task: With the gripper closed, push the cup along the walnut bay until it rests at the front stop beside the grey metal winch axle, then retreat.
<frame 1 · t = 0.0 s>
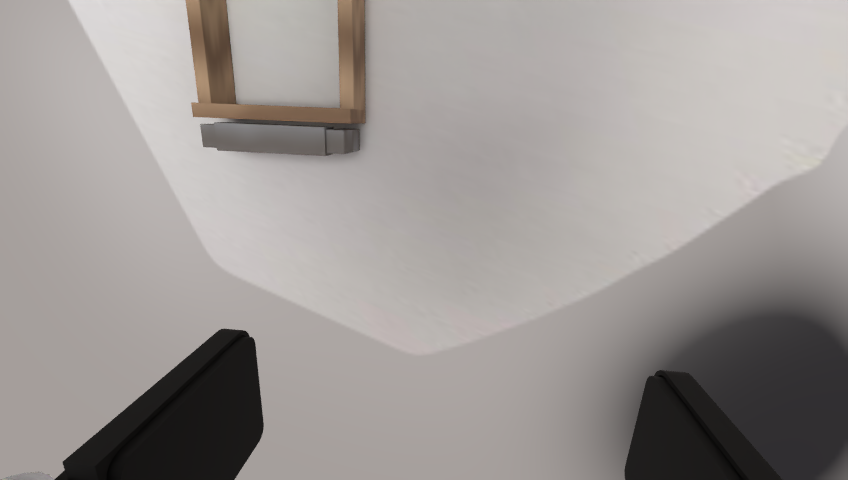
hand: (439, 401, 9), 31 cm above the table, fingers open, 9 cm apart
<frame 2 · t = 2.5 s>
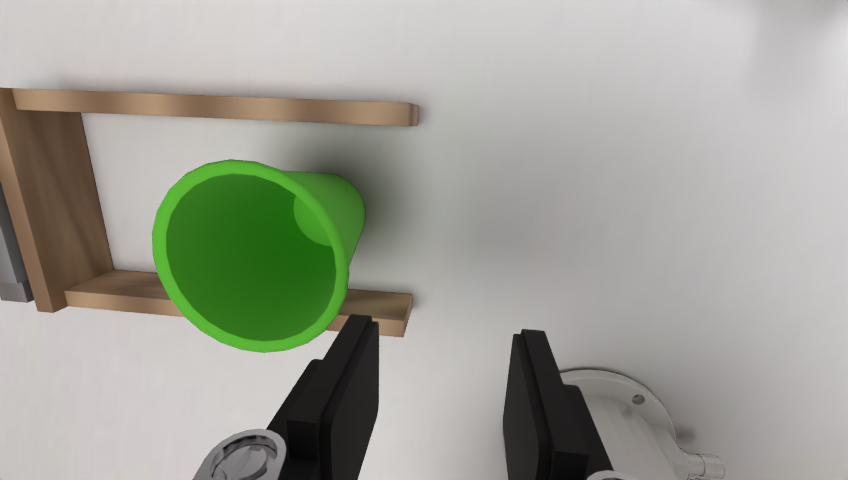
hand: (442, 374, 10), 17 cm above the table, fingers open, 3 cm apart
bay: (250, 204, 28), on the table
cup: (331, 209, 28), on the table
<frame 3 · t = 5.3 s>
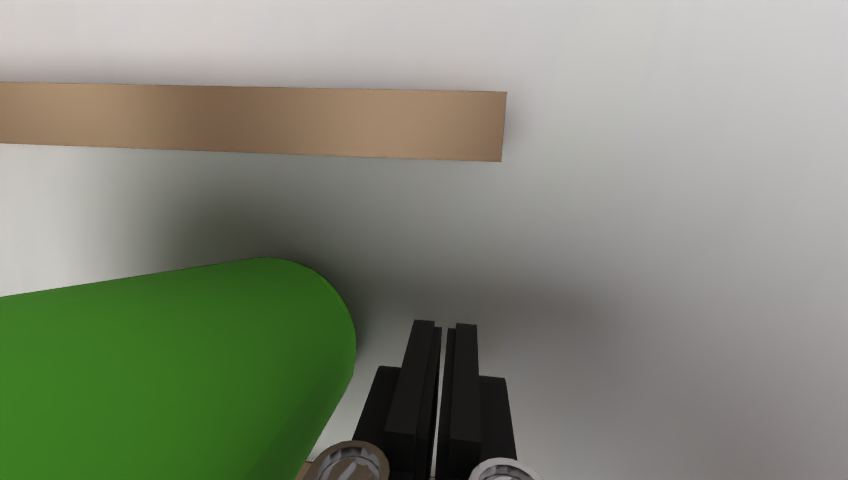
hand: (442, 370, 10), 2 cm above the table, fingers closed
bay: (137, 309, 14), on the table
cup: (294, 328, 13), on the table, touching gripper
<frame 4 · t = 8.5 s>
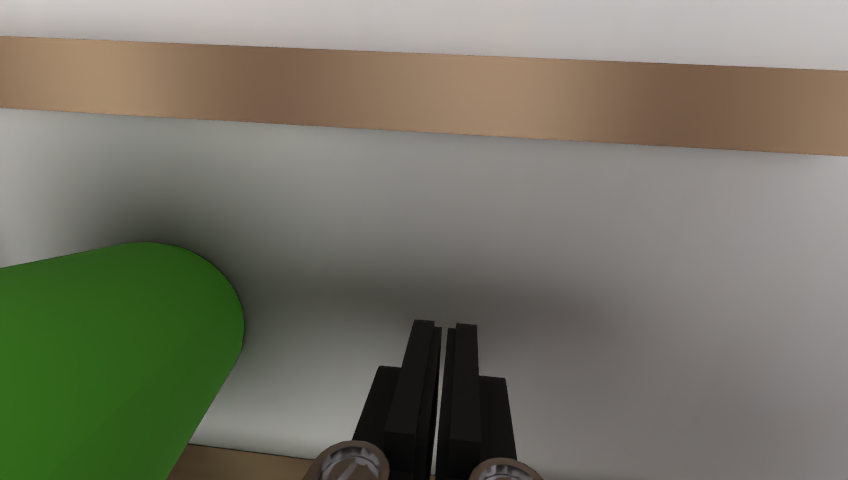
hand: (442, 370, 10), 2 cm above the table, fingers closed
bay: (343, 318, 12), on the table
cup: (178, 309, 13), on the table
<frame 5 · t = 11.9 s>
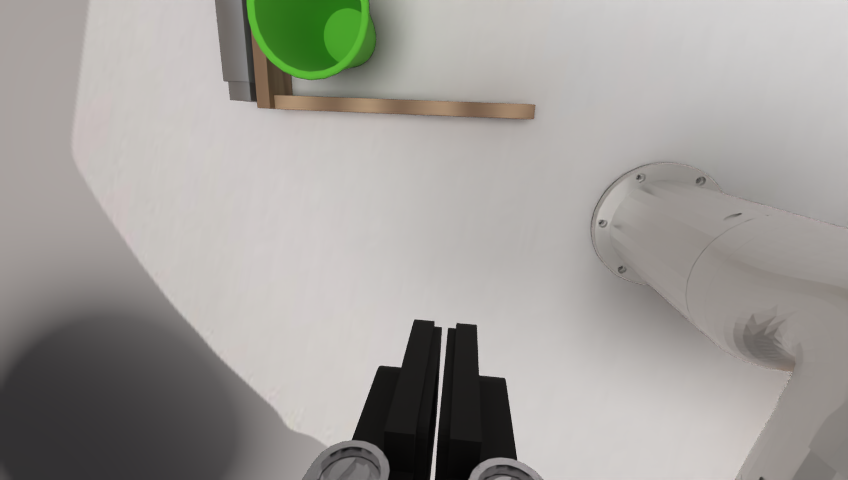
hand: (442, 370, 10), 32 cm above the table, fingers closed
bay: (408, 35, 37), on the table
cup: (351, 38, 38), on the table
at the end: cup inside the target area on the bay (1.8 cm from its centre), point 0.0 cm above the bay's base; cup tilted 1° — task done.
